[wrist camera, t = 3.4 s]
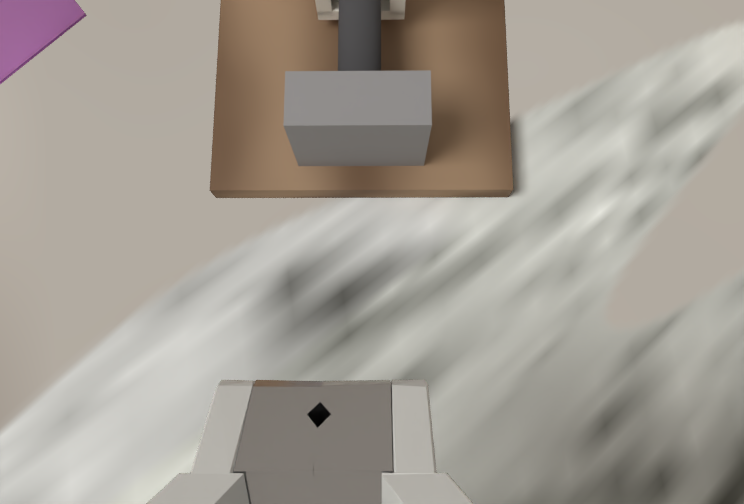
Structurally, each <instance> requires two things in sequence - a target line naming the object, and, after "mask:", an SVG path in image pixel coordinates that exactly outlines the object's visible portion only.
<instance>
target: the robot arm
mask: <svg viewBox="0 0 744 504" xmlns="http://www.w3.org/2000/svg"><path fill="white" fill-rule="evenodd" d="M146 504H473V502H472V501H471V500H470V499H469V498H468V497H467V496H466V494H465V493H464V492H463V491H462V490H461V489H460V487H459V486H458V485H457V484H456V483H455V482H454V480H453V479H452V478H451V477H450V476H449V475H448V473H436V463H435V453H434V442H433V432H432V422H431V411H430V401H429V390H428V384H427V382H426V380H392V381H390V380H367V381H279V380H256V381H245V380H221V381H220V383H219V384H218V386H217V387H216V389H215V392H214V395H213V399H212V402H211V405H210V409H209V412H208V415H207V419H206V422H205V425H204V429H203V432H202V435H201V439H200V442H199V446H198V449H197V452H196V456H195V459H194V462H193V466H192V469H191V472H190V473H179V474H178V475H177V476H176V477H175V478H174V479H173V480H172V481H170V482H169V483H168V484H167V485H166V486H165V487H164V488H163V489H162V490H161V491H160V492H158V493H157V494H156V495H155V496H154V497H153V498H152V499H151V500H150V501H149V502H147V503H146Z"/></svg>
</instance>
